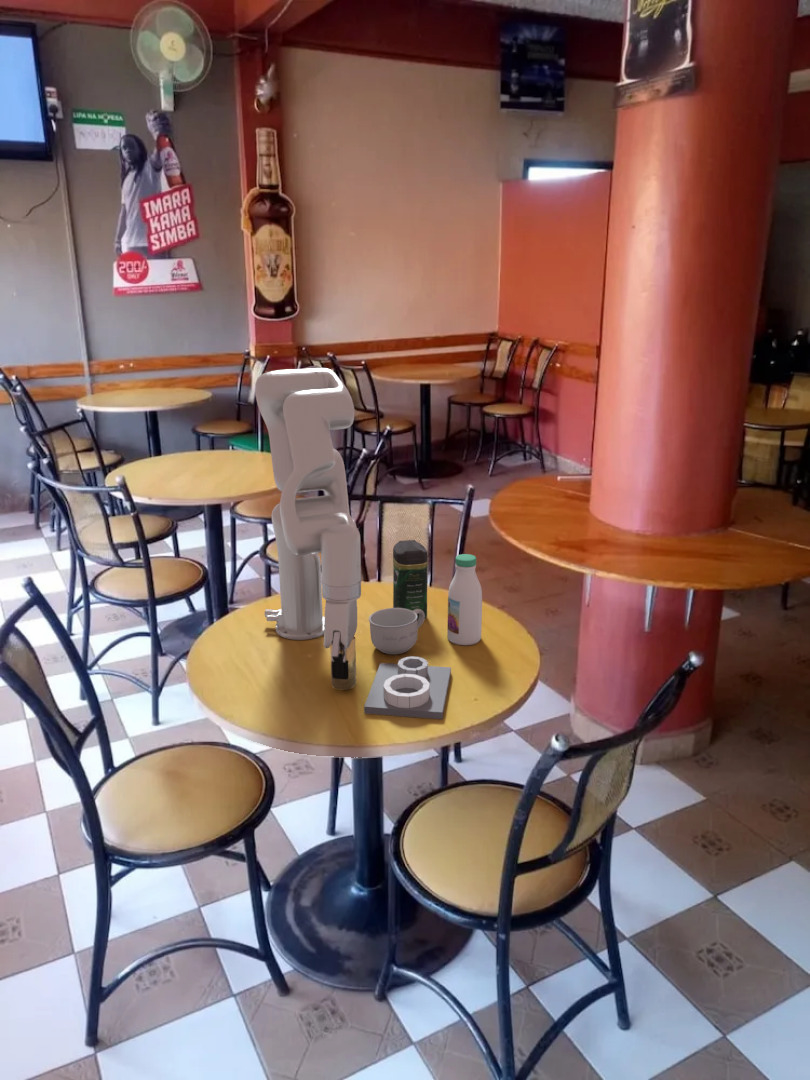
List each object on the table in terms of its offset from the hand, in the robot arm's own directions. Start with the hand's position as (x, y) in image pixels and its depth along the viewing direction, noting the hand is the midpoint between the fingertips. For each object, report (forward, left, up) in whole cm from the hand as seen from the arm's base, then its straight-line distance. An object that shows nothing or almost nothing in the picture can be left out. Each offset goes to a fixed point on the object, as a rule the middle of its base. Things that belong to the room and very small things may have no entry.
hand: (343, 670), depth 164 cm
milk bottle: (+22, +26, -5) cm, 35 cm away
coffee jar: (+8, +37, -5) cm, 39 cm away
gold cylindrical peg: (0, 0, -3) cm, 3 cm away
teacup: (+8, +20, -5) cm, 23 cm away
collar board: (+13, 0, -4) cm, 14 cm away
